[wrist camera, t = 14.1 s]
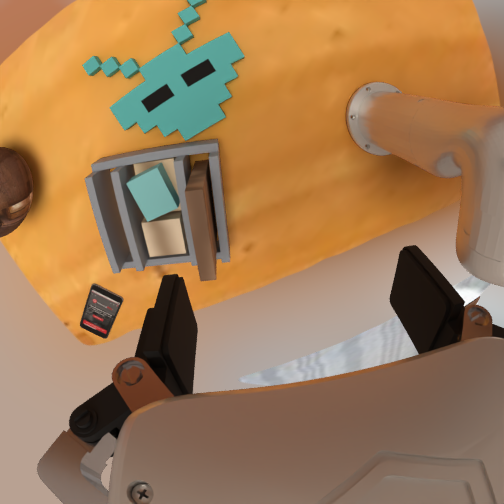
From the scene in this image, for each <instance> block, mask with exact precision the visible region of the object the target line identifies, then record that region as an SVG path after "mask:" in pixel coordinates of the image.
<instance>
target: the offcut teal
mask: <svg viewBox="0 0 504 504" xmlns="http://www.w3.org/2000/svg"><path fill="white" fill-rule="evenodd" d="M126 184H127V186H128V188H129V190H130V192H131V193H132V195H133V197H134V199H135V201H136V202H137V204H138V206H139V208H140V210H141V211H142V213H143V215H144V217H145V218H146V220H147V222H148V221H151V220H153V219H155V218H157V217H159V216H161V215H164V214H166V213H168V212H170V211H173V210H175V209H177V208H178V207H179V204H180V200H179V196H178V194H177V192H176V190H175V188H174V186H173V184H172V182H171V180H170V178H169V176H168V174H167V172H166V170H165V168H164V166H163V164H162V162H161V163H159V164H157V165H155V166H153V167H151V168H149V169H147V170H145V171H143V172H141V173H139V174H137V175H135V176H133V177H132V178H131V179H130V180H129V181H128V182H127V183H126Z"/></svg>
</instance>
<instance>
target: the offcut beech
mask: <svg viewBox="0 0 504 504" xmlns="http://www.w3.org/2000/svg"><path fill="white" fill-rule="evenodd" d="M141 224H142V228H143V232H144V236H145V240H146V244H147V248H148V251H149V255H150V257H154V256H164V255H174V254H184V253H186V252H187V246H188V244H187V238H186V233H185V228H184V222H183V217H182V211H181V210H179V211H170V212H168V213H166V214H164V215H161V216H159V217H157V218H155V219H153V220H151V221H148V222H147V220H146V218H145V217H144V219H143V221H142V223H141Z"/></svg>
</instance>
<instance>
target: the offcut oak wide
mask: <svg viewBox="0 0 504 504" xmlns="http://www.w3.org/2000/svg"><path fill="white" fill-rule="evenodd" d="M175 159H176V157H171V158H165V159H159V160H153V161H147V162H141V163H136V164H134V169H135V175H137V174H139V173H141V172H143V171H145V170H147V169H149V168H151V167H153V166H155V165H157V164H159V163H161V162H162V164H163V166H164V168H165V170H166V172H167V174H168V176H169V178H170V180H171V182H172V184H173V186H174V188H175V190H176V192H177V194H178V188H177V182H176V175H175V169H174V160H175ZM178 196H179V194H178ZM179 210H181V206H180V204H179V207H178V208H177V209H175V210H173V211H179Z"/></svg>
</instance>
